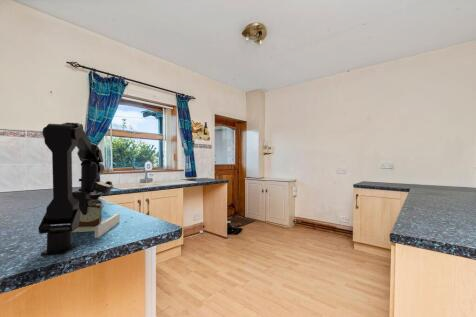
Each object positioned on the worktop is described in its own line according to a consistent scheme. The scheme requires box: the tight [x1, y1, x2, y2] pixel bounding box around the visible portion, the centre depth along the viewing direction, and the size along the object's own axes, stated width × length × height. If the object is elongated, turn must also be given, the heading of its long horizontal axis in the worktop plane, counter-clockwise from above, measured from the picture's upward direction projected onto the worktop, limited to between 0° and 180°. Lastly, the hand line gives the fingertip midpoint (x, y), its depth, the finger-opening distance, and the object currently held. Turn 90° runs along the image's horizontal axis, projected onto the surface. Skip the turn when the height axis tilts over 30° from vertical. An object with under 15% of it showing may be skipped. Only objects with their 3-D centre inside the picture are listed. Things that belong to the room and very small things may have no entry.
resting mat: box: [72, 221, 103, 233], centre depth 89 cm, size 12×15×1 cm
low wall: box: [94, 212, 121, 239], centre depth 87 cm, size 20×1×4 cm, turn 9°
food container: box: [79, 199, 104, 227], centre depth 90 cm, size 12×6×10 cm, turn 97°
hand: (88, 212), depth 89 cm, fingers closed on food container, 6 cm apart
